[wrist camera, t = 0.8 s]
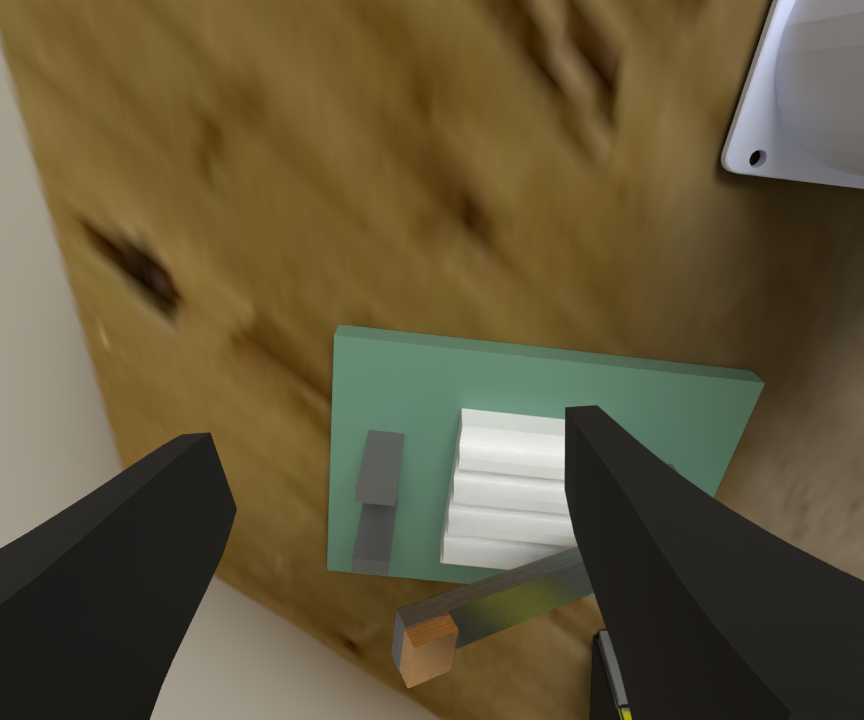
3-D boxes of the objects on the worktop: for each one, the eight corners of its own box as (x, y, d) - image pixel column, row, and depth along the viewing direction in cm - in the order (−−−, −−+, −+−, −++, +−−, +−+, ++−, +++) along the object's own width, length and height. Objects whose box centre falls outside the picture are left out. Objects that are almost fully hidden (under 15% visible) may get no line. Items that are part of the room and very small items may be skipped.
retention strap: (669, 510, 21) (698, 535, 20) (654, 548, 21) (681, 574, 20) (394, 605, 15) (414, 645, 14) (389, 650, 16) (407, 690, 15)
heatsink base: (751, 370, 21) (822, 435, 17) (658, 586, 26) (695, 674, 22) (339, 324, 20) (313, 380, 16) (331, 553, 26) (310, 636, 22)
